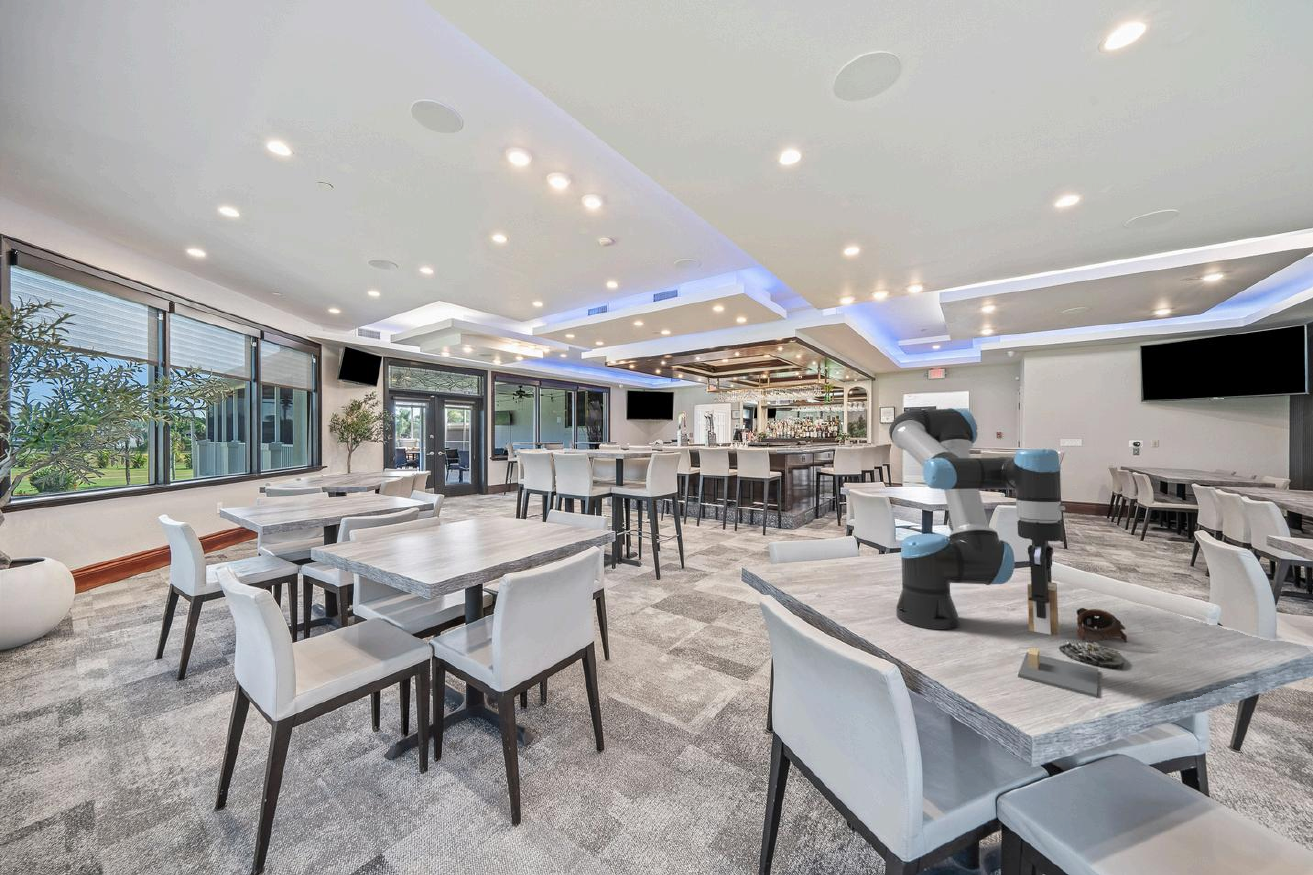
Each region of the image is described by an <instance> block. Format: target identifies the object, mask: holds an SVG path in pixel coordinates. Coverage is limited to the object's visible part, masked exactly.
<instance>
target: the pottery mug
mask: <svg viewBox="0 0 1313 875" xmlns="http://www.w3.org/2000/svg"><path fill="white" fill-rule="evenodd" d="M1076 614H1077V617H1076V620H1077V622H1076V626H1077V628H1078V629H1077V635H1078V637H1079V638H1080V640H1082V641H1084V640H1085V639H1093V640H1101V641H1103V640H1105V639H1108V640H1109V639H1112V638H1119V639H1120V640H1122V641H1123V642H1125V643H1127V640H1128V637H1127V634H1126V633H1124V631H1125V630H1126V626H1125V625H1123V624H1122V622H1121V621H1120V620H1119V619H1117V617H1116V616H1115V615H1113V614H1112V613H1110V612H1108V611H1106V610H1102V609H1093V608H1091V609H1087V608H1084V607H1080V608H1078V609H1076ZM1123 630H1124V631H1123Z"/></svg>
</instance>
